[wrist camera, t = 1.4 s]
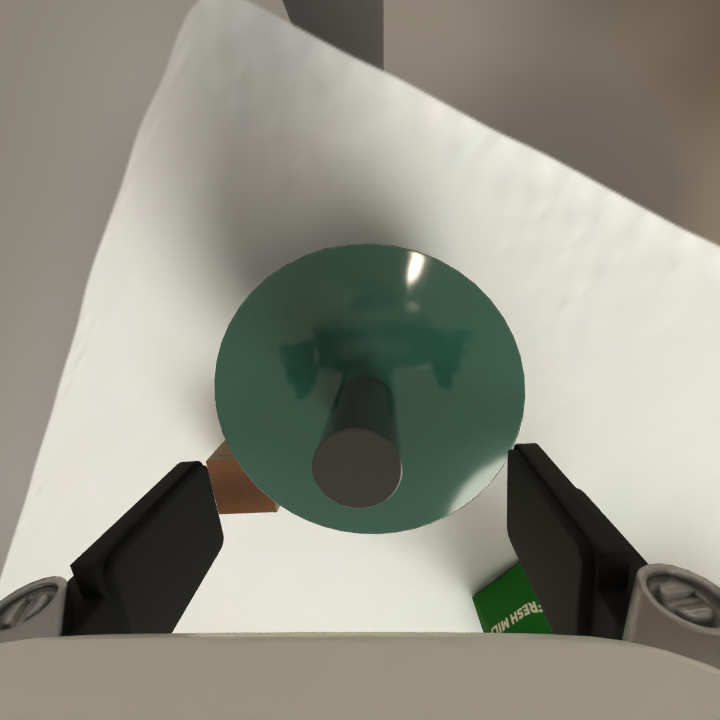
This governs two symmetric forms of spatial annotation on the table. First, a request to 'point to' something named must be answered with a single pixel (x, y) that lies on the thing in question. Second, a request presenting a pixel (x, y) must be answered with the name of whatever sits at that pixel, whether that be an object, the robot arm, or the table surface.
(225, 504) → the block
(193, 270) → the table surface
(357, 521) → the lid
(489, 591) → the milk carton
